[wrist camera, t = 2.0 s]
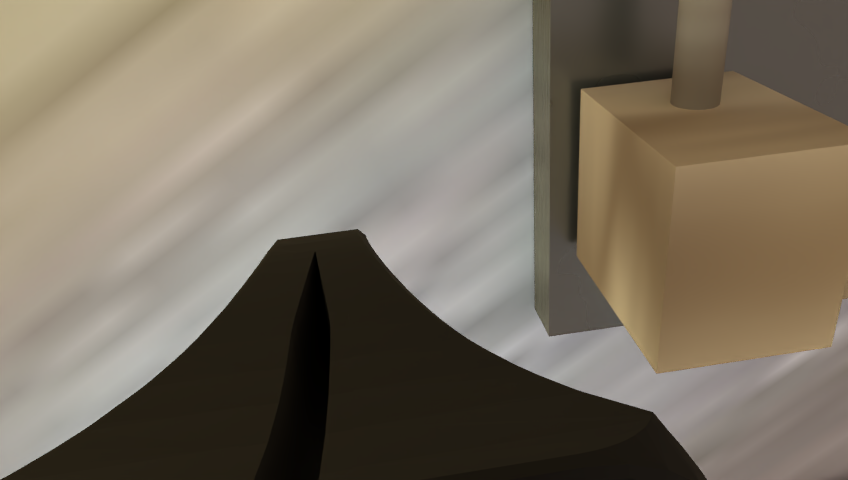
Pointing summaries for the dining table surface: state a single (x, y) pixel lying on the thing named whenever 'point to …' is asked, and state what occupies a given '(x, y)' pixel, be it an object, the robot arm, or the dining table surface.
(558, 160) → the bolt plate
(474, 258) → the dining table surface
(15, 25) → the dining table surface
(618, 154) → the slider
